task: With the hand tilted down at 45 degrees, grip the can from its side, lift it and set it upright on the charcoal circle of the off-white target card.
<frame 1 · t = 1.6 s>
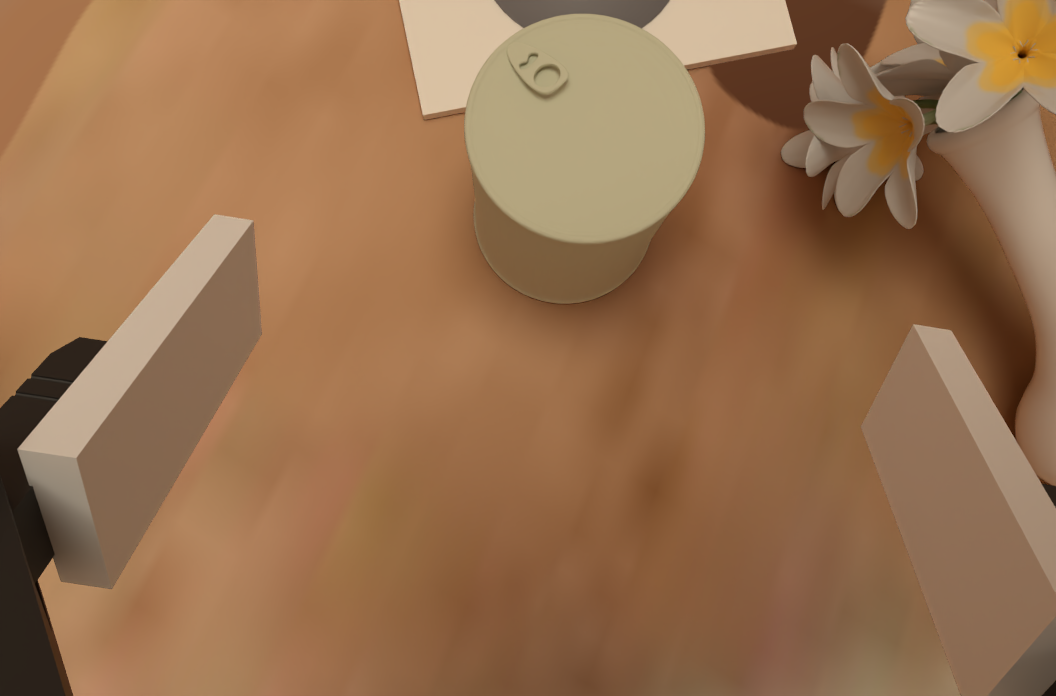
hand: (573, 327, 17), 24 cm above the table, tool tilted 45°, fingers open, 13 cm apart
flower vase: (949, 274, 43), on the table
can: (563, 217, 42), on the table
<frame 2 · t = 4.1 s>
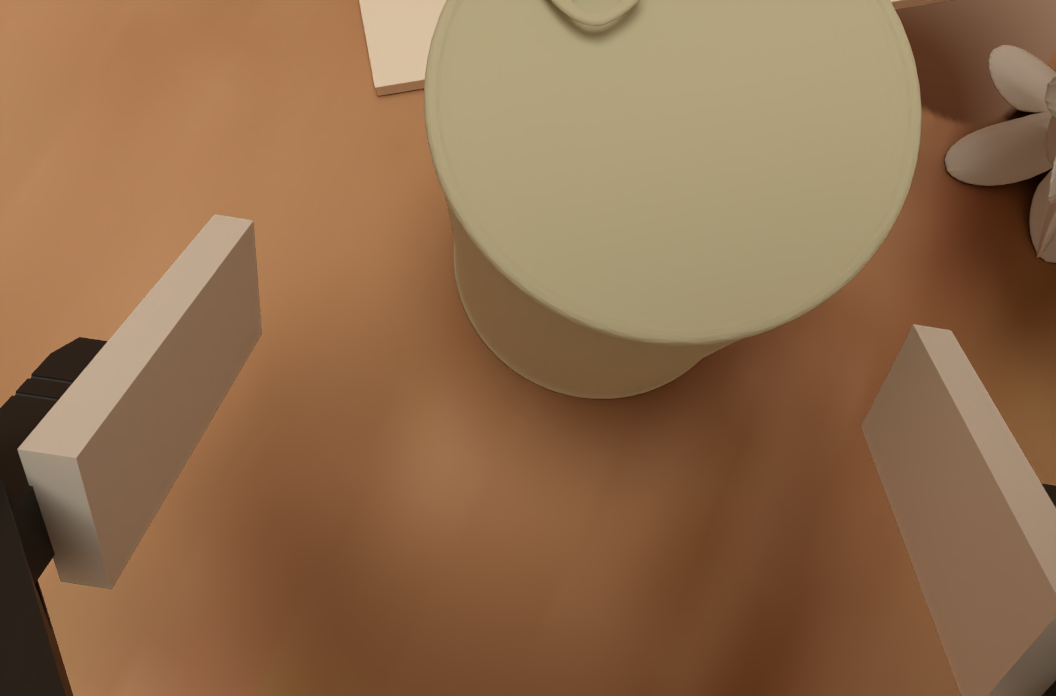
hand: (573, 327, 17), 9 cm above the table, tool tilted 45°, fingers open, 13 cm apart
can: (597, 256, 26), on the table
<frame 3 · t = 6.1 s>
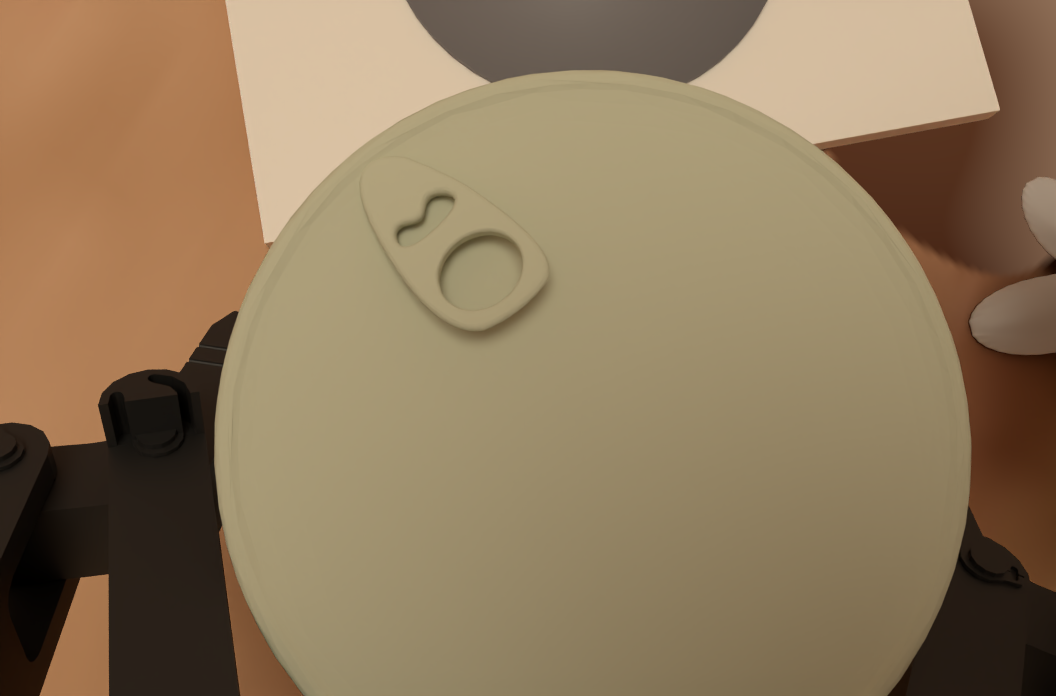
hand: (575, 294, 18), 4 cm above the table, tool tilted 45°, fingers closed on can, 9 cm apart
can: (542, 448, 21), on the table, touching gripper
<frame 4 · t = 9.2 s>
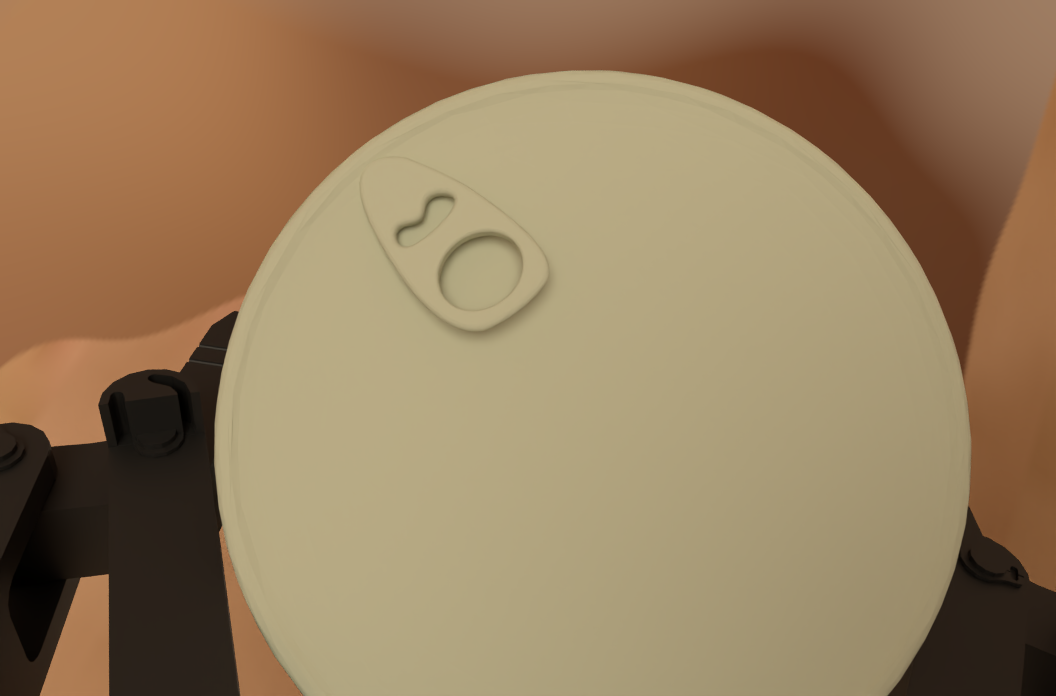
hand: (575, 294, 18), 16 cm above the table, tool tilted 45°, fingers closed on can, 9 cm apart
can: (542, 448, 21), point 12 cm above the table, touching gripper
when the fingers open (5 cm above the table, at t = 12.1 s): can stays where it is, resting on target card.
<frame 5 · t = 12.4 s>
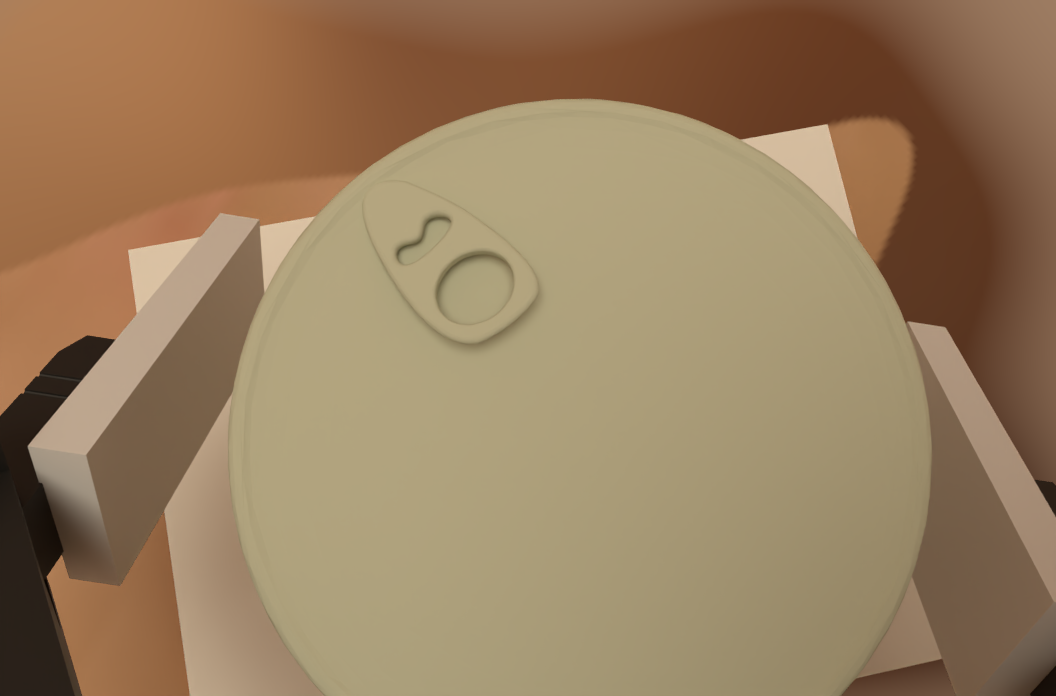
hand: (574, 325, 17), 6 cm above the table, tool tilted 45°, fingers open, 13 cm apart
can: (538, 450, 22), point 1 cm above the table, touching target card
target card: (539, 449, 23), on the table
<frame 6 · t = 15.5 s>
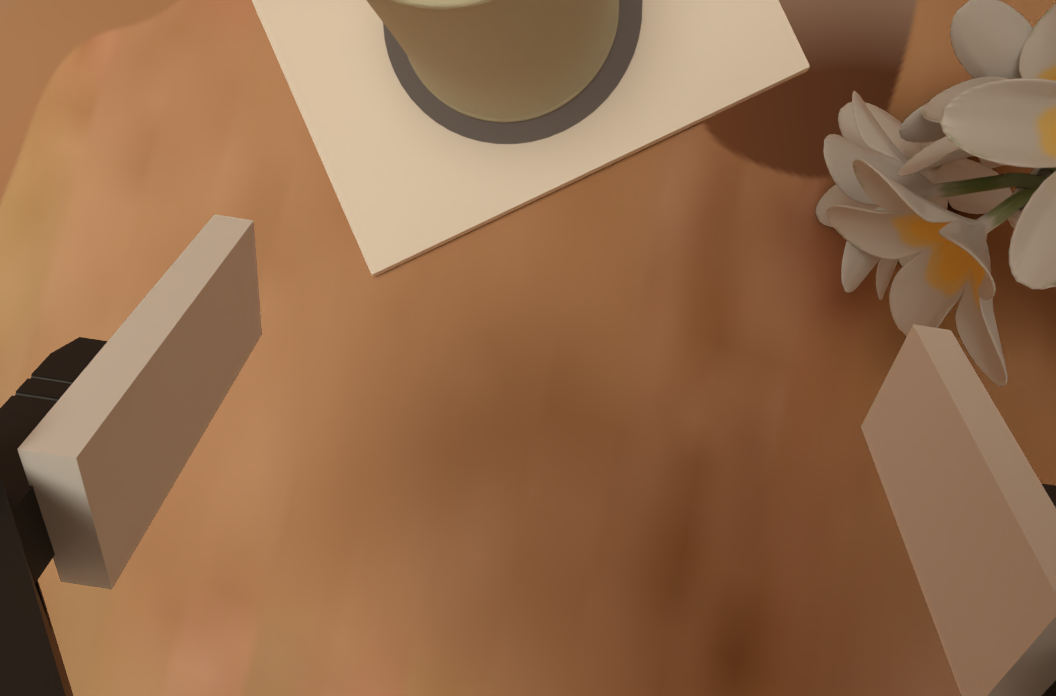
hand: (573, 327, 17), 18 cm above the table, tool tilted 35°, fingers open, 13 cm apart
can: (509, 15, 35), point 1 cm above the table, touching target card
target card: (512, 19, 35), on the table
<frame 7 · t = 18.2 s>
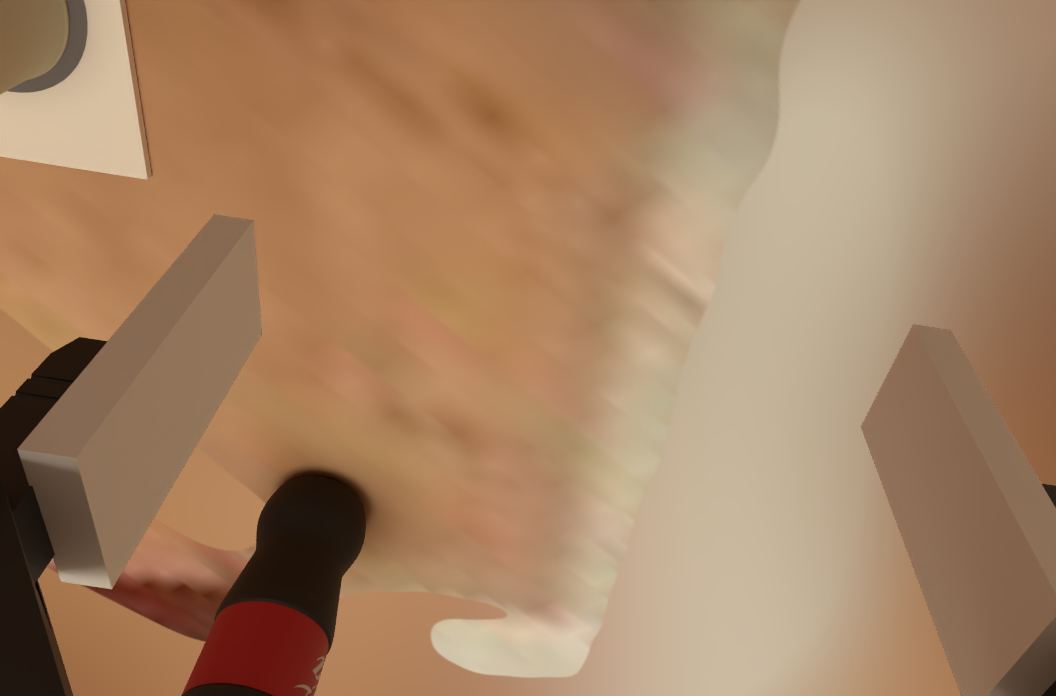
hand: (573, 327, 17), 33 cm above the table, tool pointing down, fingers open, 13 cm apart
cola bottle: (323, 499, 69), on the table
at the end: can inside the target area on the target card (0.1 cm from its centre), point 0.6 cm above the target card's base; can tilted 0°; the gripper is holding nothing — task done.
